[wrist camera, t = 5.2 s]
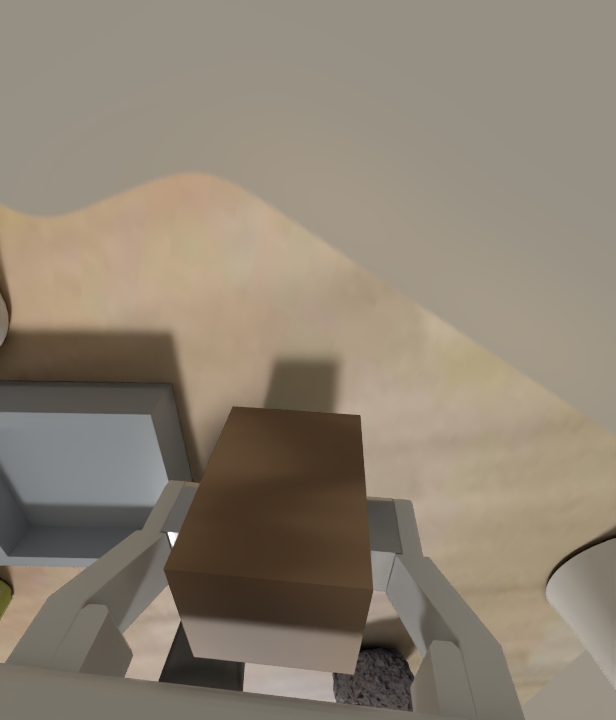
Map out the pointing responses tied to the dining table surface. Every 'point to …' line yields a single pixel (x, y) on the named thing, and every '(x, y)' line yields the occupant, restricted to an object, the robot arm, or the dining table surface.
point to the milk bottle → (3, 320)
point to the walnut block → (278, 544)
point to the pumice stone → (377, 681)
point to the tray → (82, 466)
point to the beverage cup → (200, 668)
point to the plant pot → (4, 597)
